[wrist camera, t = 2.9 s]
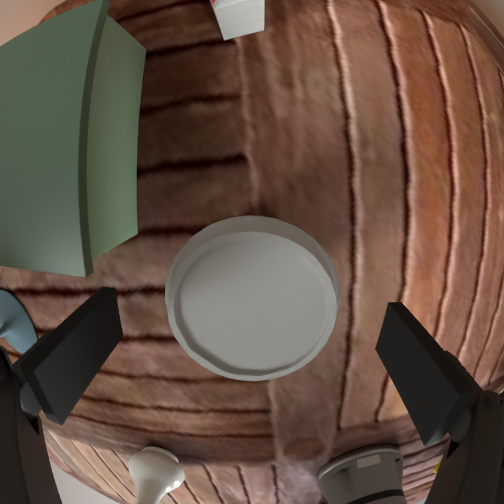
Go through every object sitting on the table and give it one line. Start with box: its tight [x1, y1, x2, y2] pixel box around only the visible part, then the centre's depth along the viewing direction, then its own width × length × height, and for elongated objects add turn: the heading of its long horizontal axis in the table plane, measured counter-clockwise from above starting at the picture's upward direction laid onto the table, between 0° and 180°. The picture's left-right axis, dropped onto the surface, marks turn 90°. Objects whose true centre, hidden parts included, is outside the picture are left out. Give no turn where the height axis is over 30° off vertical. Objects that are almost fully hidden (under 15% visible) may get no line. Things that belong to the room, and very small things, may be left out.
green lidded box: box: [0, 0, 146, 277], centre depth 18 cm, size 19×17×10 cm
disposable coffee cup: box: [165, 215, 340, 381], centre depth 20 cm, size 10×10×12 cm
